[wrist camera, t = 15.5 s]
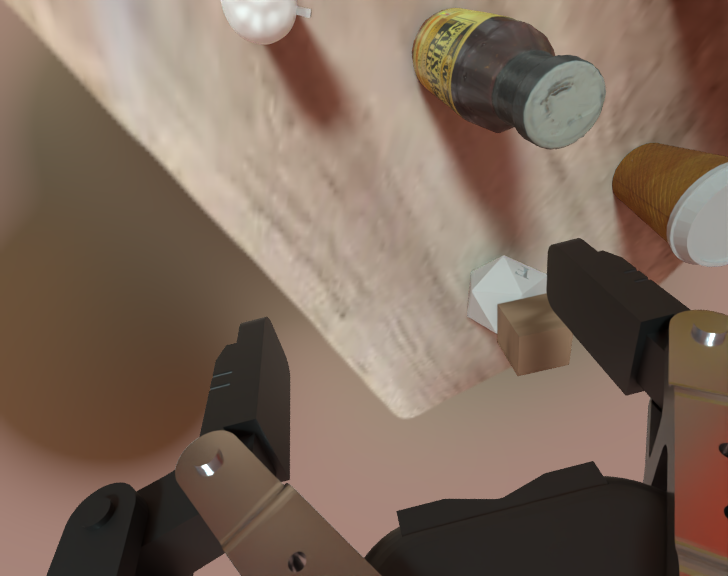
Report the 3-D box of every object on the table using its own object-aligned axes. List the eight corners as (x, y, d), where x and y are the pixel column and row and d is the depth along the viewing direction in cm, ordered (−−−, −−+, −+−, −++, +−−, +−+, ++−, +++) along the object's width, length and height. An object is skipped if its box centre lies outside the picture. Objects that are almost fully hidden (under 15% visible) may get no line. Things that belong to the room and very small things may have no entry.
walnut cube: (547, 293, 42) (574, 324, 38) (543, 331, 45) (568, 364, 41) (497, 304, 42) (519, 337, 38) (497, 341, 45) (517, 376, 41)
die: (537, 279, 52) (578, 271, 42) (509, 345, 51) (544, 352, 41) (475, 251, 52) (501, 237, 42) (446, 316, 51) (466, 317, 42)
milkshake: (303, 44, 34) (305, 57, 26) (234, 28, 33) (213, 36, 25) (311, -24, 32) (317, -33, 24) (237, -44, 31) (216, -61, 23)
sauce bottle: (412, 5, 34) (521, 7, 18) (487, 9, 35) (658, 15, 18) (404, 95, 38) (488, 166, 21) (472, 97, 38) (604, 166, 22)
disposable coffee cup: (706, 143, 44) (826, 183, 34) (645, 225, 48) (735, 282, 39) (636, 112, 41) (744, 146, 31) (579, 202, 46) (657, 257, 36)
